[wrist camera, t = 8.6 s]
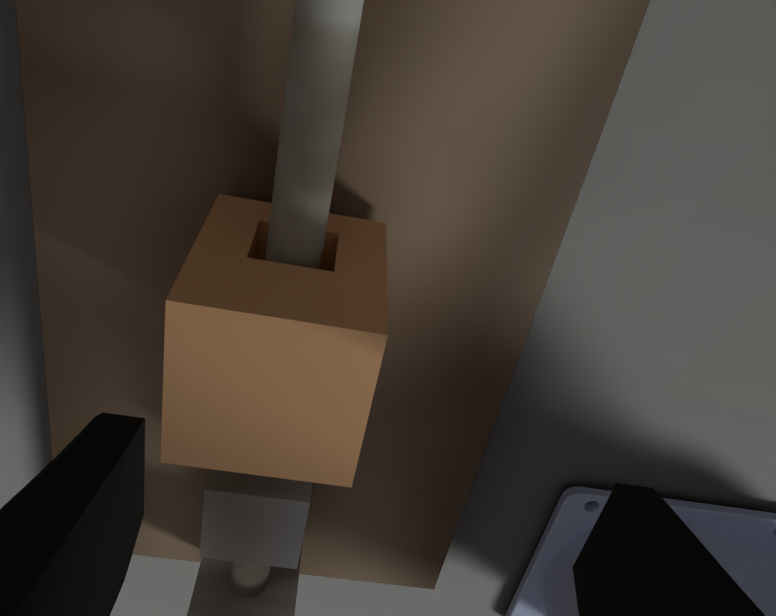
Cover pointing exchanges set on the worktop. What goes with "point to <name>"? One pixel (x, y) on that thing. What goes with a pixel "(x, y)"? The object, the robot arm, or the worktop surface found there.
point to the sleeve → (273, 349)
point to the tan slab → (310, 236)
